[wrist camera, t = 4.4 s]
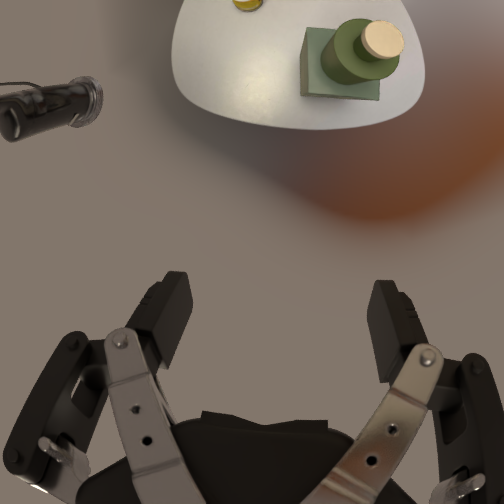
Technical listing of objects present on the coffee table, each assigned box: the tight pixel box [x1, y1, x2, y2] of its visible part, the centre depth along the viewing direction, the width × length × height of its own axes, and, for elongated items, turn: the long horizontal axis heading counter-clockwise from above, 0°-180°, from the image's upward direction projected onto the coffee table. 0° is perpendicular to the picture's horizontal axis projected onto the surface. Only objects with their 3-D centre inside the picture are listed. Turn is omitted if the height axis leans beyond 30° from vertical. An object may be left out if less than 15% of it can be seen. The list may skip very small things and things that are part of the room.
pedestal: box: [300, 27, 380, 101], centre depth 30 cm, size 8×8×20 cm
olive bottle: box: [320, 19, 404, 85], centre depth 16 cm, size 5×5×13 cm
